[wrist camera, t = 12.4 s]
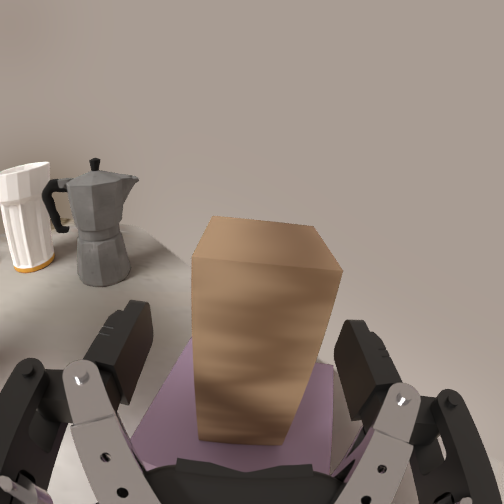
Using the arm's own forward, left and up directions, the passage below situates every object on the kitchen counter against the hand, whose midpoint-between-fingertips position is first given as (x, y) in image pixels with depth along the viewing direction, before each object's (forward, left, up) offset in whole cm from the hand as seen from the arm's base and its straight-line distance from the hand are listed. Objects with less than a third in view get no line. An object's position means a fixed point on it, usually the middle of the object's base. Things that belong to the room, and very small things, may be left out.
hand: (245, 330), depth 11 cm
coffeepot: (-30, +16, -15) cm, 37 cm away
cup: (-45, +11, -15) cm, 49 cm away
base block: (0, +2, -15) cm, 15 cm away
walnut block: (0, +2, -9) cm, 9 cm away
